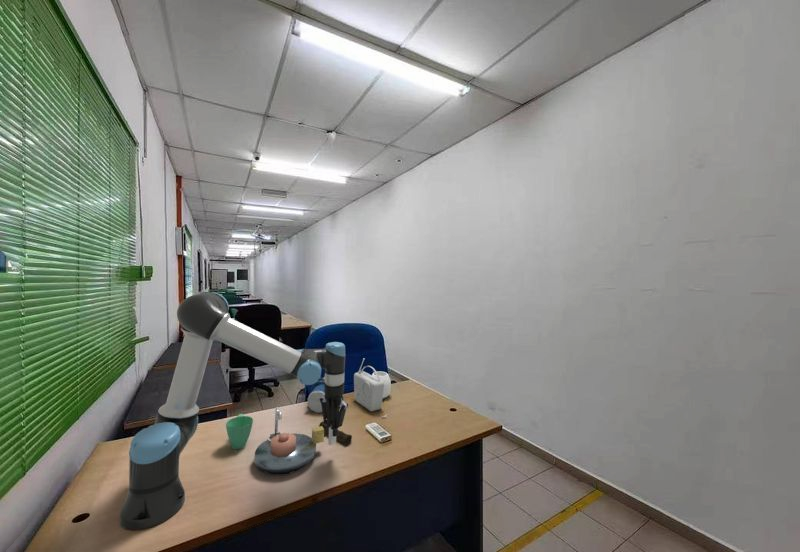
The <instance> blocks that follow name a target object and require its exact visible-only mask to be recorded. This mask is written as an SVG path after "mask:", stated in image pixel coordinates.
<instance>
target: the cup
mask: <svg viewBox="0 0 800 552" xmlns="http://www.w3.org/2000/svg"><path fill="white" fill-rule="evenodd" d="M376 372H377V374H378V376H379V378H380V380H381V381H383V383H384V390H383V398H382V400H384V399H386V398H388V396H389V395H390V393H391V390H392V383H391V382H392V381H391V377H390V376H389V374H388V373H387V372H385V371H382V370H381V371H376ZM371 375H372V376H374V377H375V378H377V379H378V377H377V375H376V373H375V371H373V373H372V374H371Z"/></svg>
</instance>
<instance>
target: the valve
mask: <svg viewBox="0 0 800 552" xmlns="http://www.w3.org/2000/svg"><path fill="white" fill-rule="evenodd" d="M324 385H325V376H324V377H321V376H320V379H319V380H318V381H317V382H316V383H314V384H312V385H310V390H311V391H310V394H309V395H308V397H307V405H308V407H309V409H310V410H311V411H312V412H314V413H317V414H318V413H322V406H321V402H320V398H322V397H324V396H325V393H324Z"/></svg>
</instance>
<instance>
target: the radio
mask: <svg viewBox="0 0 800 552" xmlns="http://www.w3.org/2000/svg"><path fill="white" fill-rule="evenodd" d="M365 359H366V358H364V357H363V359H362V362H361V365H360V367H359V370H358V371H357V372H355V373H354V374H353V388H354V389H353V391H354V400H355V401H356V402H357V403H358V404H359V405H361V406H362V407H364V408H365V409H367V410H368V411H369V412H375V411H378V410H381V409H382V405H383V399H384V398H383V390H384V383H383V381H381V380H380V378H379V376H378V374H377V372H378V371H377V370H376V369H375V368H374V367H373V366H371V365H366V366H363V363H364V361H365ZM362 366H363V368H362ZM365 368H371V369H372V370H373V372H375V373H376V375H377V377H378V379H377V378H375V377H374V376H372V374H370V373H368V372H366V371H364V370H365ZM382 398H383V399H382Z"/></svg>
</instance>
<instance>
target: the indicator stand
mask: <svg viewBox="0 0 800 552" xmlns="http://www.w3.org/2000/svg"><path fill="white" fill-rule="evenodd" d="M274 414H275V415H274V416H275V417H274V418H275V419H274V433H270V434H269V435H270V437H269V439H270V438H273V437H275V436H277V435H279V434H282V433H281V432H280V431H279V421H280V420H282V418H283V414H282V411H280V410H279V406H276V407H275V412H274Z"/></svg>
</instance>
